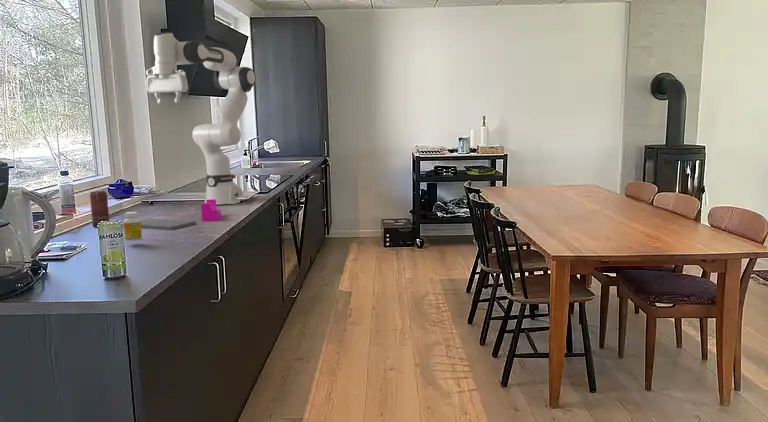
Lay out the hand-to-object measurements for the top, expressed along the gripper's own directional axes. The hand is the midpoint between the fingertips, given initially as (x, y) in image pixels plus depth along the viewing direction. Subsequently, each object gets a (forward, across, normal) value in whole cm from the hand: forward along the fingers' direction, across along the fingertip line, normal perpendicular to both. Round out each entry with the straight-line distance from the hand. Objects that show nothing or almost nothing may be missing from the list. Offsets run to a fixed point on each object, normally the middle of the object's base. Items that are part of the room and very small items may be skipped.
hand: (168, 103), depth 251 cm
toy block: (+50, -23, +3) cm, 55 cm away
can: (+50, +8, +33) cm, 60 cm away
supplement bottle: (+50, -28, +51) cm, 77 cm away
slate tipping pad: (+49, -14, +24) cm, 57 cm away
